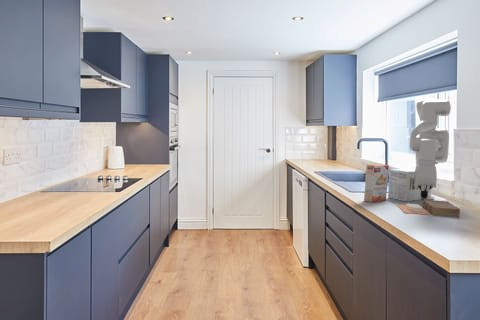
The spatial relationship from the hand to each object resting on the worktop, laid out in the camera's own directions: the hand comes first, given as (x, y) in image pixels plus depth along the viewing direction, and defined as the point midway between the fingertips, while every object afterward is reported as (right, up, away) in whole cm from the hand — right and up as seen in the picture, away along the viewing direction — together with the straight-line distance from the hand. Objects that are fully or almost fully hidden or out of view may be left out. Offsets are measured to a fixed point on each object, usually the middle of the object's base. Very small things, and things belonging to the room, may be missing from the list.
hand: (423, 198), depth 201 cm
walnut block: (+7, -7, -2) cm, 10 cm away
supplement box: (+3, -4, +33) cm, 33 cm away
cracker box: (-17, -4, +24) cm, 29 cm away
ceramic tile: (-5, -4, 0) cm, 6 cm away
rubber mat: (-5, -6, +1) cm, 8 cm away
